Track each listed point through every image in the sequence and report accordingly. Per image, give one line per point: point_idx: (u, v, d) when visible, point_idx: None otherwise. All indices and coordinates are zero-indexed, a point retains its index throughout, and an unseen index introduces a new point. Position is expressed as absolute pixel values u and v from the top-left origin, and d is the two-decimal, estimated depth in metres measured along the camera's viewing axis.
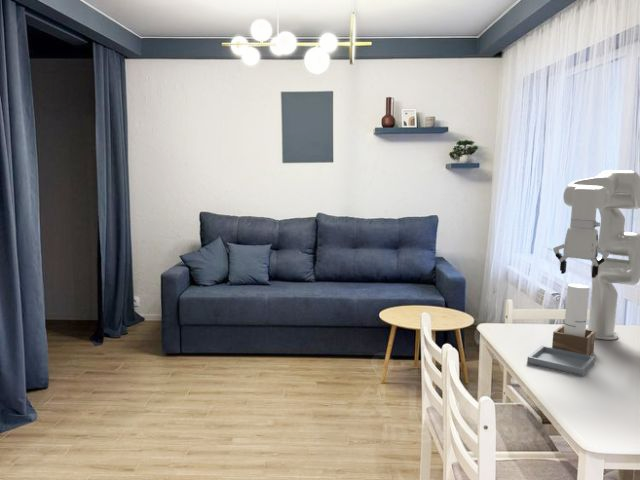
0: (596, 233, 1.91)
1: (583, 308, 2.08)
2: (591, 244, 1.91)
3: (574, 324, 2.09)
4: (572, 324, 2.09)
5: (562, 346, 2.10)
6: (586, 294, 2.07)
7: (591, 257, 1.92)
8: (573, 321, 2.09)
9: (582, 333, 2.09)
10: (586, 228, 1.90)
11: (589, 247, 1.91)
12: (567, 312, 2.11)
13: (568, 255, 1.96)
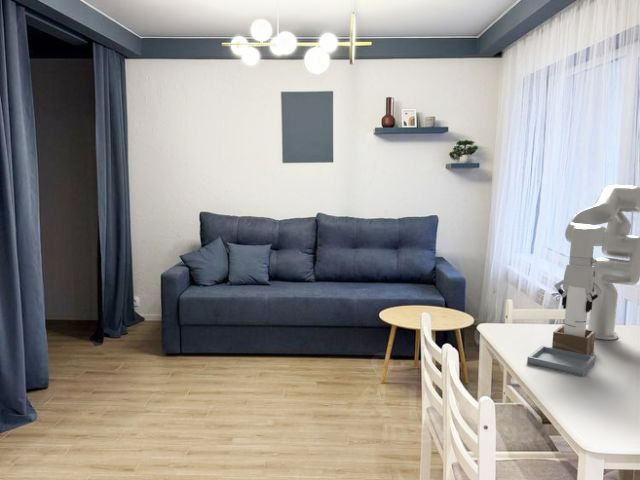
0: (593, 270, 2.06)
1: (583, 308, 2.08)
2: (588, 280, 2.06)
3: (574, 324, 2.09)
4: (572, 324, 2.09)
5: (562, 346, 2.10)
6: (586, 294, 2.07)
7: (588, 292, 2.06)
8: (573, 321, 2.09)
9: (582, 333, 2.09)
10: (584, 265, 2.05)
11: (586, 282, 2.06)
12: (567, 312, 2.11)
13: (567, 289, 2.11)
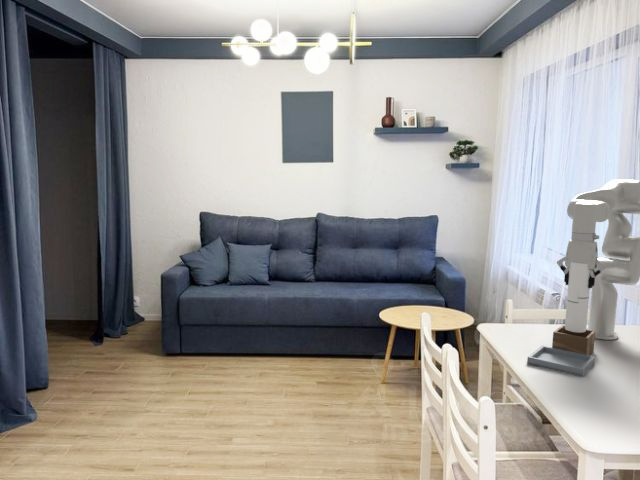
0: (595, 245, 2.05)
1: (585, 284, 2.07)
2: (591, 256, 2.05)
3: (577, 300, 2.08)
4: (575, 300, 2.08)
5: (562, 346, 2.10)
6: (588, 270, 2.06)
7: (591, 268, 2.05)
8: (575, 297, 2.08)
9: (585, 309, 2.08)
10: (586, 241, 2.04)
11: (589, 258, 2.05)
12: (569, 288, 2.10)
13: (569, 266, 2.10)
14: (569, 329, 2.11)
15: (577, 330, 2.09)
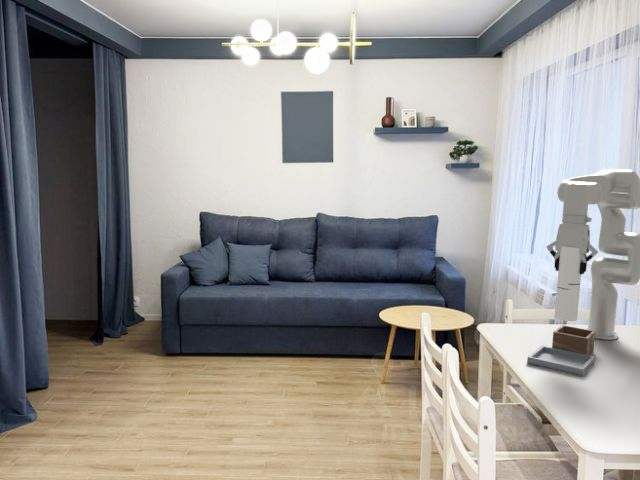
0: (587, 228, 1.93)
1: (577, 269, 1.95)
2: (582, 239, 1.93)
3: (567, 287, 1.96)
4: (565, 287, 1.96)
5: (562, 346, 2.10)
6: None
7: (582, 252, 1.93)
8: (566, 283, 1.96)
9: (576, 296, 1.96)
10: (578, 223, 1.92)
11: (580, 242, 1.93)
12: (560, 274, 1.98)
13: (560, 250, 1.98)
14: (559, 317, 1.98)
15: (567, 318, 1.97)
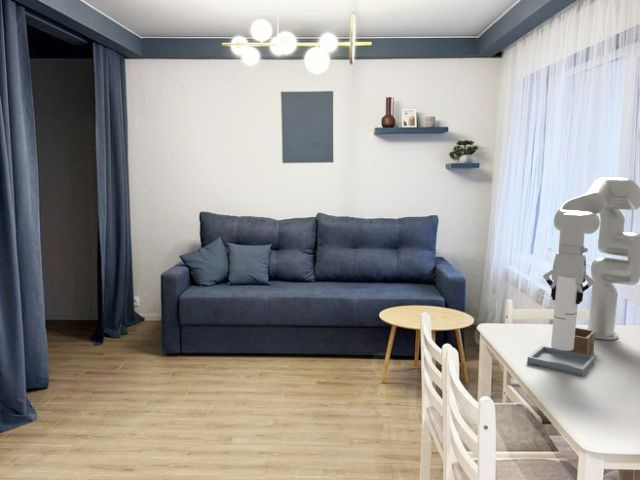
0: (584, 258, 1.93)
1: (573, 299, 1.95)
2: (579, 269, 1.93)
3: (564, 316, 1.96)
4: (561, 316, 1.97)
5: None
6: None
7: (579, 282, 1.94)
8: (562, 313, 1.96)
9: (573, 326, 1.97)
10: (574, 254, 1.93)
11: (577, 272, 1.93)
12: (556, 304, 1.98)
13: (556, 280, 1.98)
14: (556, 347, 1.99)
15: (564, 348, 1.97)
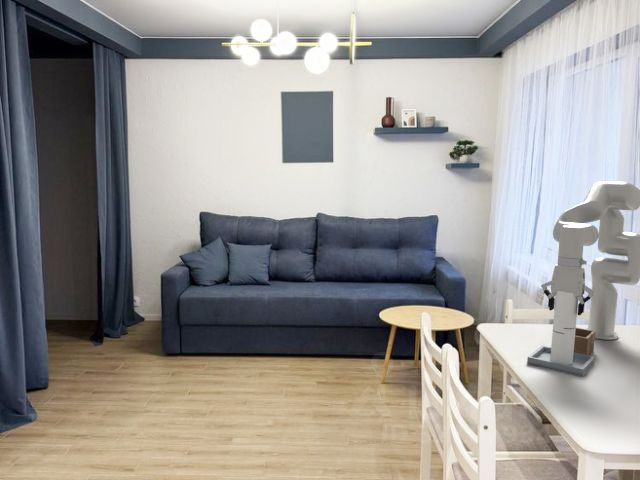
0: (583, 271, 1.94)
1: (572, 313, 1.96)
2: (578, 282, 1.94)
3: (563, 331, 1.97)
4: (561, 331, 1.98)
5: None
6: (575, 299, 1.96)
7: (578, 294, 1.94)
8: (562, 328, 1.97)
9: (572, 340, 1.98)
10: (573, 266, 1.93)
11: (576, 285, 1.94)
12: (555, 318, 1.99)
13: (555, 292, 1.99)
14: (555, 361, 2.00)
15: (563, 362, 1.98)
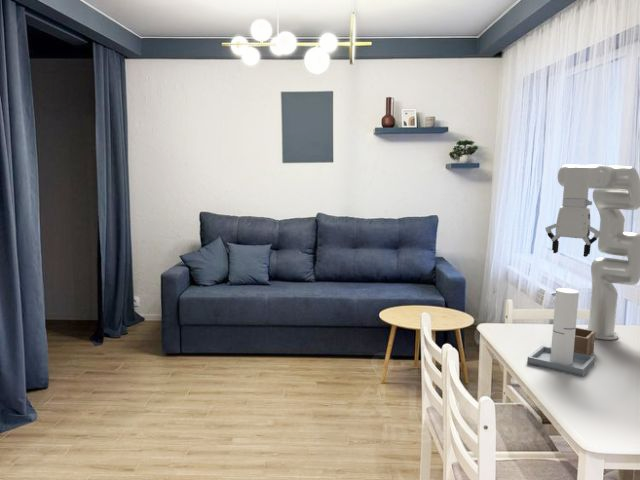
0: (588, 212, 1.91)
1: (572, 314, 1.96)
2: (583, 223, 1.91)
3: (563, 331, 1.97)
4: (560, 331, 1.98)
5: None
6: (575, 299, 1.96)
7: (583, 236, 1.91)
8: (562, 328, 1.97)
9: (572, 340, 1.98)
10: (578, 206, 1.90)
11: (581, 226, 1.91)
12: (555, 318, 1.99)
13: (560, 234, 1.96)
14: (555, 361, 2.00)
15: (563, 362, 1.98)
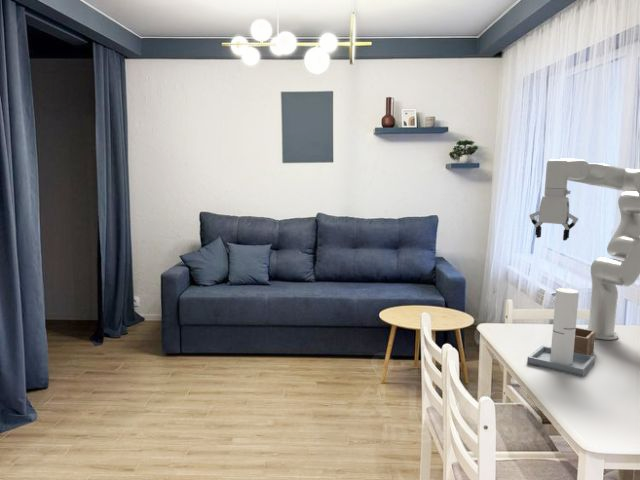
0: (567, 200, 2.14)
1: (572, 314, 1.96)
2: (562, 210, 2.13)
3: (563, 331, 1.97)
4: (560, 331, 1.98)
5: None
6: (575, 299, 1.96)
7: (562, 222, 2.14)
8: (562, 328, 1.97)
9: (572, 340, 1.98)
10: (558, 195, 2.13)
11: (561, 213, 2.14)
12: (555, 318, 1.99)
13: (542, 220, 2.18)
14: (555, 361, 2.00)
15: (563, 362, 1.98)
